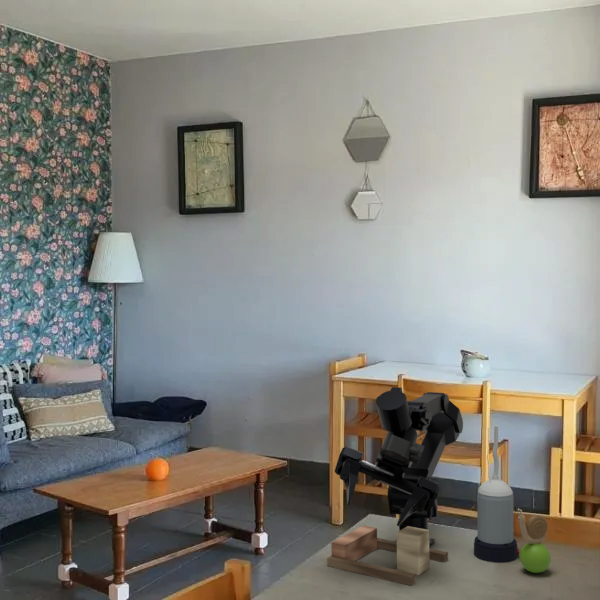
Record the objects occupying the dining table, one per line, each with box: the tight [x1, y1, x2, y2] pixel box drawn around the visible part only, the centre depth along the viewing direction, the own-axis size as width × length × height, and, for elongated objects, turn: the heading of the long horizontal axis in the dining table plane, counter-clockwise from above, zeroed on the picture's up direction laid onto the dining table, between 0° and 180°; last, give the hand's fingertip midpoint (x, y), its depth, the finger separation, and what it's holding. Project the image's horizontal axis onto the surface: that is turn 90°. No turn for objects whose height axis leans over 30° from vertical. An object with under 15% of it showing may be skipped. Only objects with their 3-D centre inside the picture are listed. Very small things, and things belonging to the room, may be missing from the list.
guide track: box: [326, 525, 449, 586], centre depth 152 cm, size 15×18×4 cm
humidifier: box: [473, 425, 520, 564], centre depth 155 cm, size 8×8×25 cm
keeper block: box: [396, 526, 430, 576], centre depth 148 cm, size 4×4×7 cm
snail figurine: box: [516, 508, 552, 574], centre depth 146 cm, size 5×6×12 cm
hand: (373, 514), depth 141 cm, fingers open, 9 cm apart
